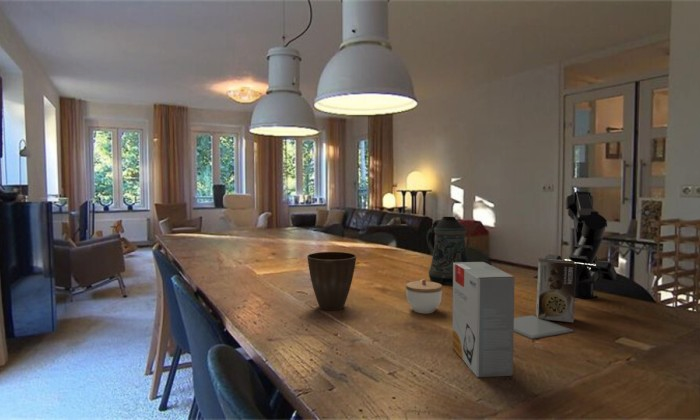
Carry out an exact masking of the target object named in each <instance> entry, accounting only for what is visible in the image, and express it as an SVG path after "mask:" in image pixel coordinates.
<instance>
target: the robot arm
mask: <svg viewBox="0 0 700 420" xmlns="http://www.w3.org/2000/svg"><path fill="white" fill-rule="evenodd" d="M565 210H567V215H568V216H569V217H570V218H571V219H572V220H573V221H572V222H573V233H574V235H573V236H574V244H573V245H574V246H573V248H574V250H573V252H572V254H569V256H568V259H569V260H571V261H574V262H575V263H576V279H575V298H578V299H579V298H580V299H583V300H584V299H592V298H598V295H596V294H594V286H595V285H594V283H595V282H596V281H599V280H600V278H601V279H602V280H603V281H609V282H615V280H616V279H617V276H618V275H617V273H618V272H617V270H616V267H614V265H613V262H612V261H607V260H606V261H605V260H598V256H597V254H598V252H599V249H600V247H601V245H602V244H603V243H602V242H603V238H604V234H605V231H606V228H608V221H607V219H606V218H605V217H604V216H602V215H601V214H600V212H599V211H598V210H595V209H594V196H592V195H591V192H590V191H586V190H585V191H584V190H582V191H579V190H578V191H577V190H576V191H574V192H573V194H570V195H568V196H566V199H565ZM544 259H557V260H563V259H562V257H561V255H556V254H547V255H545V257H544ZM564 260H567V259H564Z"/></svg>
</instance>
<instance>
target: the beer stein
mask: <svg viewBox="0 0 700 420" xmlns="http://www.w3.org/2000/svg"><path fill="white" fill-rule="evenodd" d="M426 233H427V234H426V242H427V243H426V244H427V246H428V249H429V252H430V253H431V254H432V259H431V264H430V268H429V270H428V278H429V282H435V283H439V284H441V285H442V286H453V263H455V262H469V259H468V253H467V246H466V239H465V238H466V237H465V236H466V233H467V228H466V227H465V226H464V224H462V223H461V222H459V221H458V220H457V218H456V216H442V218H441V219H437V220H435V221H433V223H432V226H431V227H429V229H428V230H427V232H426Z"/></svg>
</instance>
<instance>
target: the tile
mask: <svg viewBox="0 0 700 420" xmlns="http://www.w3.org/2000/svg"><path fill="white" fill-rule="evenodd" d="M574 332H575V330H574V329H571V328H568V327H566V326H563V325H561V324H557V323H554V322H553V321H552V322H551V321H550V320H546V319H538V318H537V315H532V314H530V315H524V316H517V317H514V333H516V334H517V335H521V336H523V337H525V338H528V339H530V340H535V339H540V338H546V337H553V336H557V335H563V334H569V333H574Z"/></svg>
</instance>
